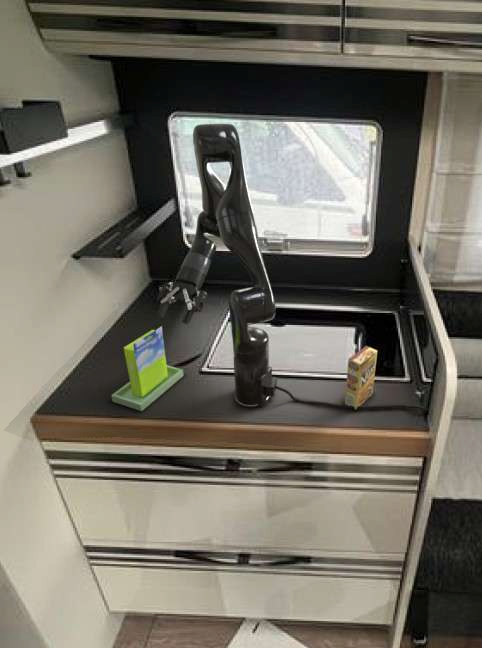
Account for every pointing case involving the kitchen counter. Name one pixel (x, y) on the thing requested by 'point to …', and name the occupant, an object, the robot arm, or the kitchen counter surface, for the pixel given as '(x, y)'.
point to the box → (146, 362)
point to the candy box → (360, 377)
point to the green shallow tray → (139, 403)
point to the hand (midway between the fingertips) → (172, 320)
